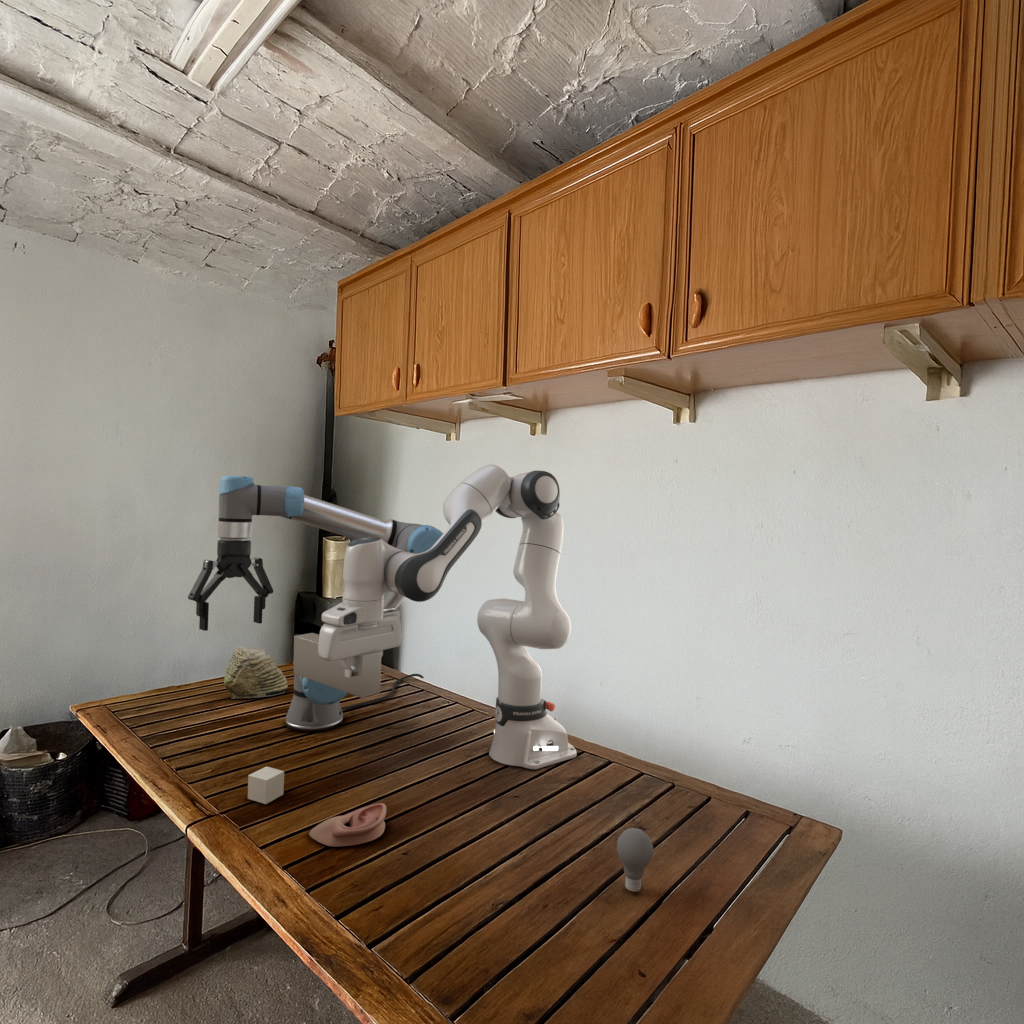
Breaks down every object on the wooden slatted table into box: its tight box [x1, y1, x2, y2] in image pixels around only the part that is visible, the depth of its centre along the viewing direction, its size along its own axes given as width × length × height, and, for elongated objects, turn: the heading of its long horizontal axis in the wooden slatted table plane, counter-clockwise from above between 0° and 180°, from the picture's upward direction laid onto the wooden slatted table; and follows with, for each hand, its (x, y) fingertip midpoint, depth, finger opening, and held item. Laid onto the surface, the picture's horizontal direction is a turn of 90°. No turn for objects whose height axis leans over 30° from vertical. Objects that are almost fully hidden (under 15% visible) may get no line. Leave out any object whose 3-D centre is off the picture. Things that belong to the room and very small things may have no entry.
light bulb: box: [616, 827, 654, 893], centre depth 106 cm, size 6×6×10 cm
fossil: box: [223, 646, 289, 700], centre depth 198 cm, size 9×18×15 cm, turn 132°
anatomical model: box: [308, 802, 387, 848], centre depth 120 cm, size 13×4×12 cm
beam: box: [292, 632, 382, 699], centre depth 145 cm, size 5×26×9 cm, turn 51°
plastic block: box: [247, 766, 285, 805], centre depth 133 cm, size 5×5×5 cm
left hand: (231, 626), depth 154 cm, fingers open, 13 cm apart
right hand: (361, 673), depth 139 cm, fingers closed on beam, 5 cm apart
